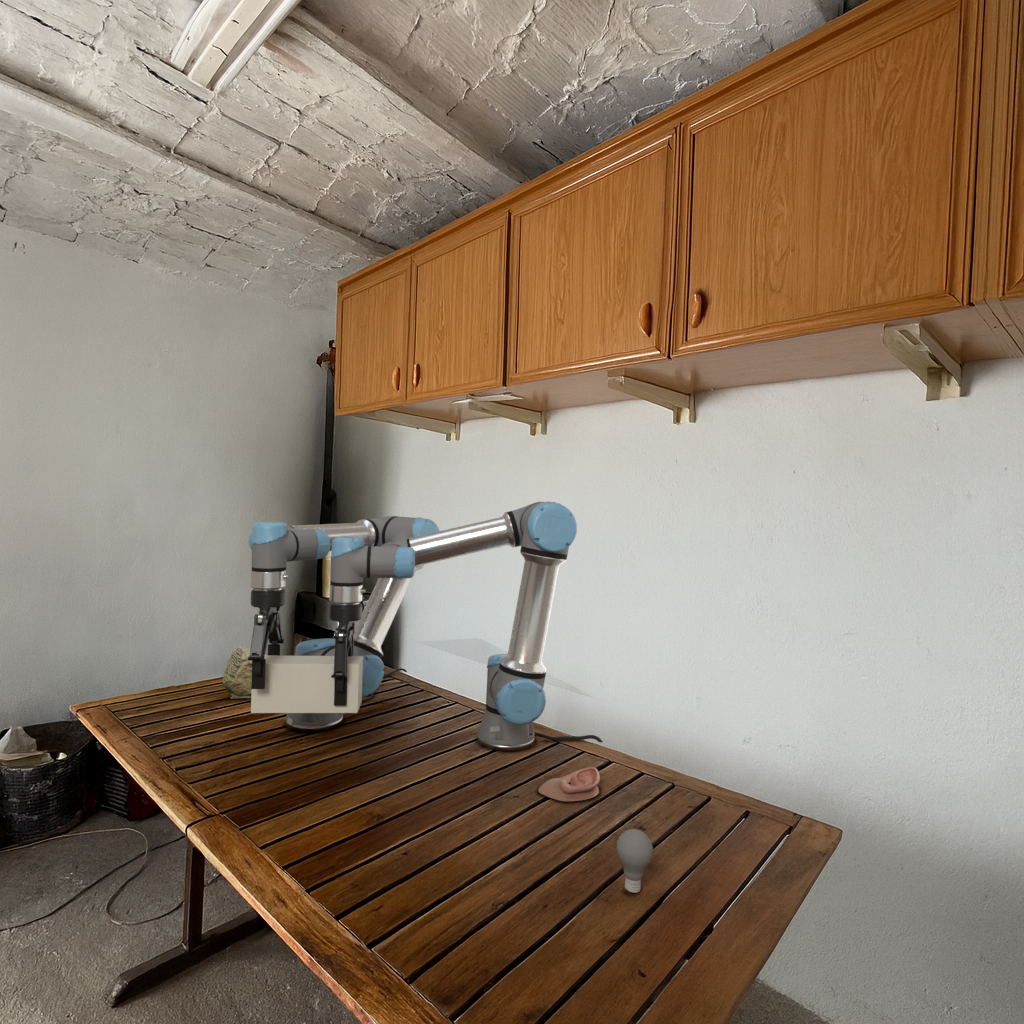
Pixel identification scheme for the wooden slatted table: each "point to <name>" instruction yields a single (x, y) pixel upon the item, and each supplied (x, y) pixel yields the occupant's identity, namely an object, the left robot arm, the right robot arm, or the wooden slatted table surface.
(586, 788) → the anatomical model
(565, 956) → the wooden slatted table surface
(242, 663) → the fossil
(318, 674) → the box
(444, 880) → the wooden slatted table surface
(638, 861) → the light bulb
